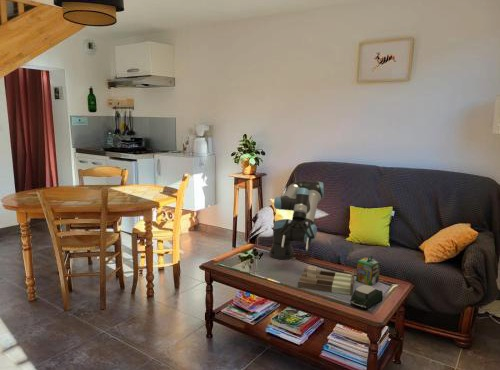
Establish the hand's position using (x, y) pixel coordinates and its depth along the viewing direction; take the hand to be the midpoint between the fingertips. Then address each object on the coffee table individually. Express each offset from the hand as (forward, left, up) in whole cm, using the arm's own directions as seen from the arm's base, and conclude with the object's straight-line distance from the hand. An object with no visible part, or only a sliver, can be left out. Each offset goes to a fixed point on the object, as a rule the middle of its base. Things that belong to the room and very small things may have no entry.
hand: (294, 248), depth 211 cm
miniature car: (+21, +40, -16) cm, 47 cm away
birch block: (+6, +11, -12) cm, 18 cm away
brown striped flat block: (+6, +19, -15) cm, 25 cm away
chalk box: (-6, +40, -16) cm, 43 cm away
